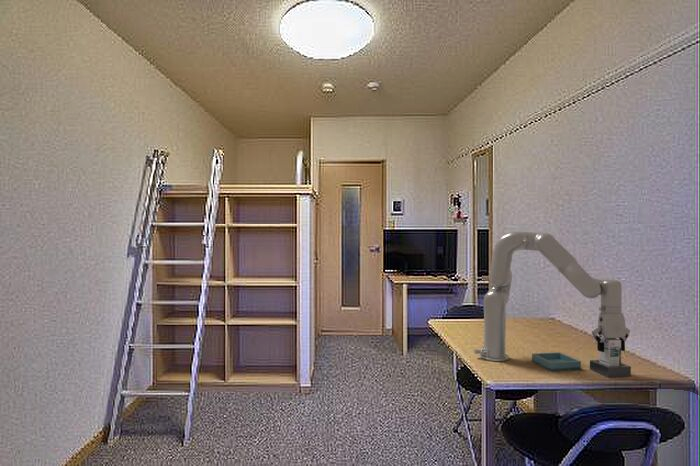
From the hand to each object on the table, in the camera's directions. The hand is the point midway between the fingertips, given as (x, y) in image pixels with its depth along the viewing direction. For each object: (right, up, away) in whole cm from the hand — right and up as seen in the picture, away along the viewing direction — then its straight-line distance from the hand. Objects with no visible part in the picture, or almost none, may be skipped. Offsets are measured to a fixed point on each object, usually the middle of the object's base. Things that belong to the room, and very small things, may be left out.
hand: (611, 350), depth 188 cm
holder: (0, -9, 0) cm, 9 cm away
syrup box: (0, -10, 0) cm, 10 cm away
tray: (-19, -9, +10) cm, 23 cm away
